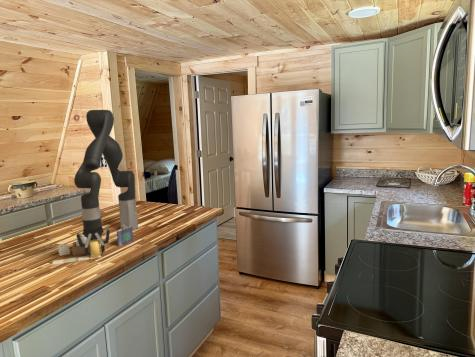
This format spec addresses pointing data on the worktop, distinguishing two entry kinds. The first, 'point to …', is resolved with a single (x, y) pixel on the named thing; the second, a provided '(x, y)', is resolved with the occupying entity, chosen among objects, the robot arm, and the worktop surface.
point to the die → (63, 249)
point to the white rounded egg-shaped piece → (82, 241)
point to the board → (76, 251)
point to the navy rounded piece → (124, 235)
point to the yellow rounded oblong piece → (94, 248)
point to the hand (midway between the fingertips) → (95, 253)
